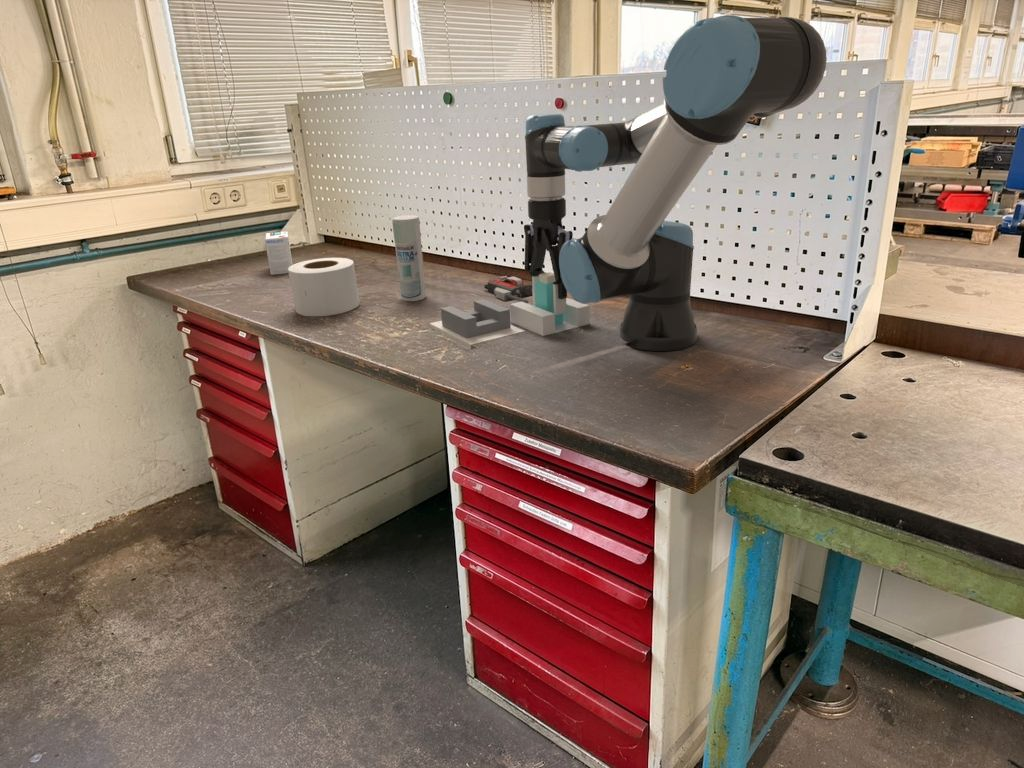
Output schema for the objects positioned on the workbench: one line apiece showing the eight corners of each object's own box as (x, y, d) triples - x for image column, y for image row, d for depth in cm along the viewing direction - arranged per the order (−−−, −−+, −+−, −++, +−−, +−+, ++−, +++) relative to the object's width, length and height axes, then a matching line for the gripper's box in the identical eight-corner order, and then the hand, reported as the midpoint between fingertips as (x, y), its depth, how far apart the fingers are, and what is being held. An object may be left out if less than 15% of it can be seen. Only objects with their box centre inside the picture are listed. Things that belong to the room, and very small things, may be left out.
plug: (562, 323, 146) (562, 274, 142) (547, 327, 144) (546, 277, 140) (551, 318, 149) (550, 271, 145) (536, 322, 147) (535, 274, 143)
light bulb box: (271, 267, 214) (264, 232, 210) (293, 265, 216) (287, 230, 212) (270, 275, 205) (264, 238, 201) (294, 272, 207) (288, 236, 203)
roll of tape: (311, 320, 160) (304, 275, 156) (285, 308, 171) (277, 265, 167) (370, 306, 169) (365, 263, 165) (342, 295, 180) (336, 254, 176)
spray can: (396, 301, 172) (387, 219, 164) (406, 294, 178) (398, 215, 170) (421, 301, 171) (413, 219, 163) (430, 294, 176) (422, 215, 169)
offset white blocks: (589, 328, 145) (589, 305, 144) (543, 340, 140) (542, 316, 138) (555, 315, 155) (555, 293, 153) (511, 326, 149) (509, 304, 147)
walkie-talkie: (477, 293, 177) (523, 309, 162) (476, 276, 176) (523, 290, 160) (505, 286, 182) (553, 301, 167) (504, 270, 180) (552, 283, 165)
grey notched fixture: (525, 335, 143) (524, 312, 141) (471, 349, 137) (469, 325, 135) (481, 315, 157) (479, 294, 155) (430, 327, 151) (427, 305, 149)
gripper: (593, 200, 131) (593, 316, 140) (533, 191, 146) (537, 296, 155) (561, 204, 127) (563, 323, 136) (504, 195, 143) (509, 302, 152)
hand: (549, 309), depth 146 cm, fingers open, 7 cm apart
